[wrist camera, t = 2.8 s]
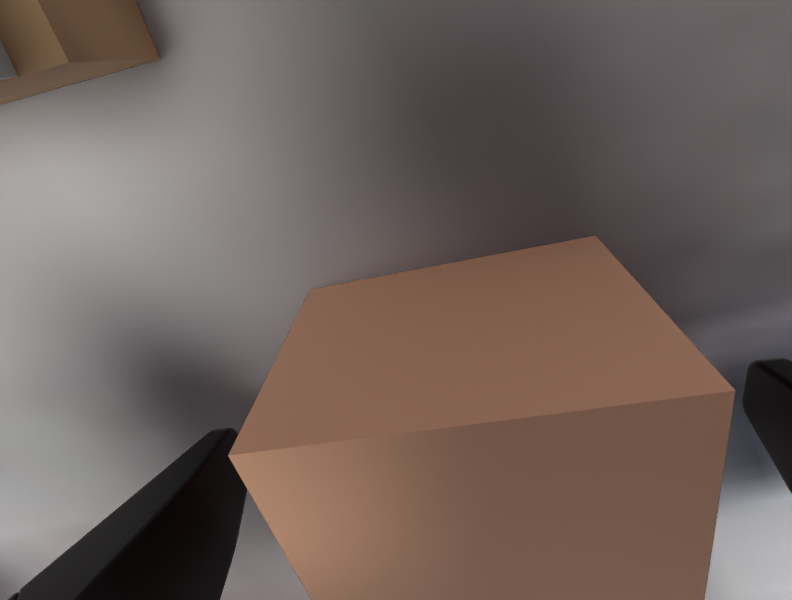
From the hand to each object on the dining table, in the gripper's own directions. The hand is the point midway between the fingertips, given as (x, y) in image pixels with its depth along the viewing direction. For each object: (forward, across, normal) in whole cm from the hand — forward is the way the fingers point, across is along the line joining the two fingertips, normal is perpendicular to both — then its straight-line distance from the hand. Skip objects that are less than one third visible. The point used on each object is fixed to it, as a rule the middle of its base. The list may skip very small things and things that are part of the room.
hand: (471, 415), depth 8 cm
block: (+1, 0, 0) cm, 1 cm away
